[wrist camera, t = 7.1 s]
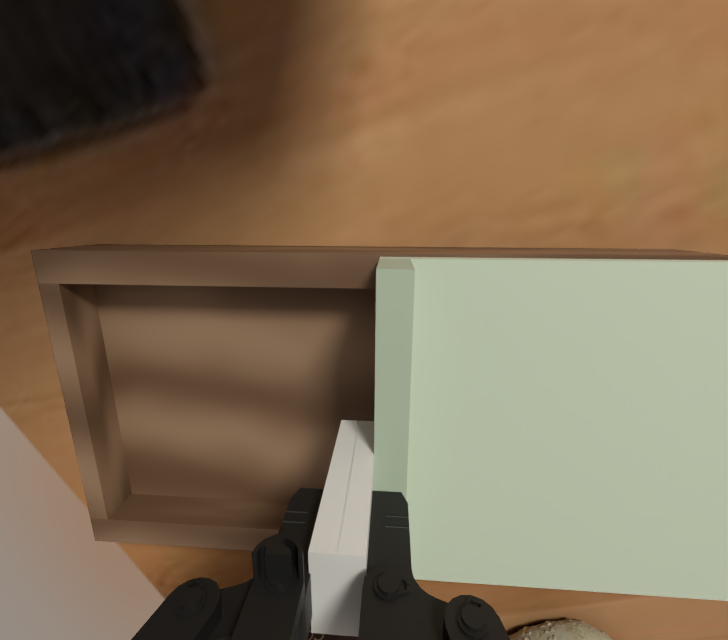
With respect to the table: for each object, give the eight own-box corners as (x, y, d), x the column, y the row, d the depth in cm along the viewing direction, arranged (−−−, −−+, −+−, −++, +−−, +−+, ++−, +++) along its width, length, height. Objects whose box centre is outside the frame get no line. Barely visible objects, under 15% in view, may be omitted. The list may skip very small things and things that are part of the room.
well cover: (380, 256, 16) (376, 269, 12) (877, 261, 14) (1055, 277, 10) (375, 562, 20) (371, 646, 16) (761, 588, 18) (859, 686, 15)
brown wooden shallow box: (97, 244, 21) (30, 250, 17) (671, 249, 19) (744, 257, 15) (141, 490, 25) (95, 540, 21) (615, 517, 23) (660, 577, 19)
